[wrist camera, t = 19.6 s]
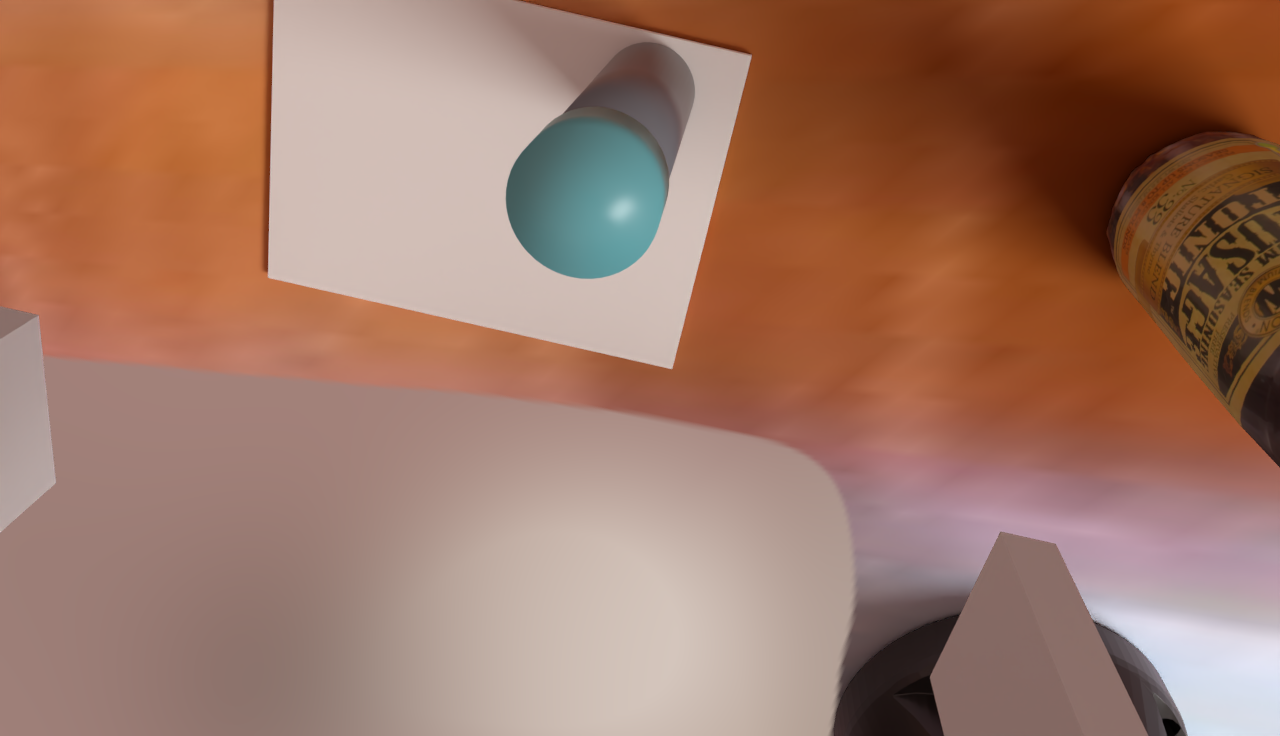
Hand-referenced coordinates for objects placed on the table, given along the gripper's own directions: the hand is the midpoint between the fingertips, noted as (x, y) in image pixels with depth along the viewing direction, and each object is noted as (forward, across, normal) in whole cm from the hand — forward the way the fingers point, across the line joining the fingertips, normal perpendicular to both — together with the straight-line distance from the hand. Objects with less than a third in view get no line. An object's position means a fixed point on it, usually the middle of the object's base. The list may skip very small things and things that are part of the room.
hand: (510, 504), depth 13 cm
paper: (+22, +5, +3) cm, 23 cm away
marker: (+22, 0, -1) cm, 22 cm away
